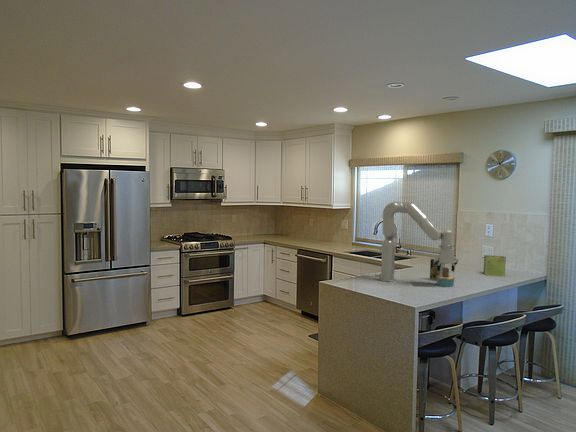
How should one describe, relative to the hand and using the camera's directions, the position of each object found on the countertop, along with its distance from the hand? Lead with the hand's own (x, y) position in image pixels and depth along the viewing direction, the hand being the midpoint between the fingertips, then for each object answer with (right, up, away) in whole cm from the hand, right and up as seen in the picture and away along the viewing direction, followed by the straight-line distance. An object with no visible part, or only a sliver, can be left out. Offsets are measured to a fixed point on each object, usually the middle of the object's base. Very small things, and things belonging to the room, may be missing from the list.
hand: (445, 271), depth 313 cm
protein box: (+57, -9, +47) cm, 74 cm away
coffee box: (0, -10, +20) cm, 22 cm away
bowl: (0, -11, +1) cm, 11 cm away
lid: (0, -5, 0) cm, 5 cm away
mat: (-16, -10, +2) cm, 19 cm away
